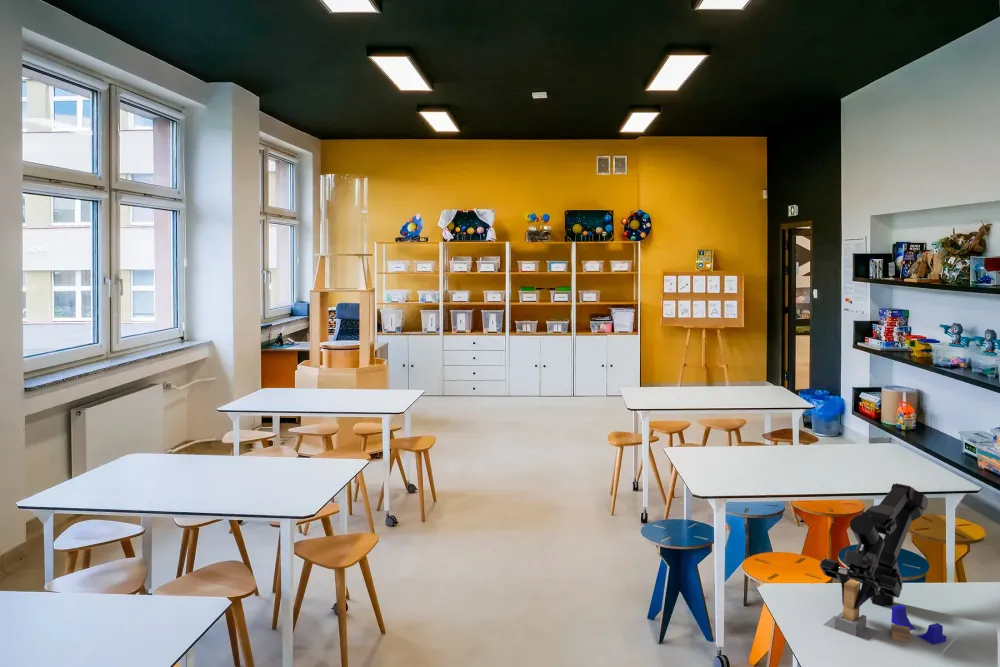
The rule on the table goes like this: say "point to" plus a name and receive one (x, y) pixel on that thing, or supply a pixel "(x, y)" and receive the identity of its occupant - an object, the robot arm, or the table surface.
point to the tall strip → (851, 600)
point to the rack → (852, 626)
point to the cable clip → (932, 633)
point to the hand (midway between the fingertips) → (849, 606)
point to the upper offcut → (900, 633)
